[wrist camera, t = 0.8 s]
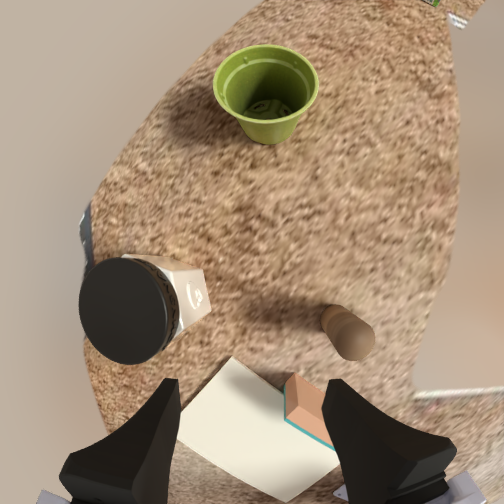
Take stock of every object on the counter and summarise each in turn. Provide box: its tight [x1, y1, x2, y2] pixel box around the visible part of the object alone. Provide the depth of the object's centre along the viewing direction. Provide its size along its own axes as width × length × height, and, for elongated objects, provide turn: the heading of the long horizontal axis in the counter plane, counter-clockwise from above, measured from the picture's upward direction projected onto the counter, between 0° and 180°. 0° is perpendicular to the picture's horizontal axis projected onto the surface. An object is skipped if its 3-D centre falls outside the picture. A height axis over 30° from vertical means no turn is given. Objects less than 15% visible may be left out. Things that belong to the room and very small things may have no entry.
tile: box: [284, 373, 336, 452], centre depth 25 cm, size 7×2×8 cm, turn 51°
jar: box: [79, 254, 211, 365], centre depth 25 cm, size 9×8×12 cm
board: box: [177, 356, 340, 503], centre depth 29 cm, size 20×14×1 cm
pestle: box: [320, 305, 375, 361], centre depth 25 cm, size 3×3×9 cm
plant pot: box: [213, 45, 319, 145], centre depth 26 cm, size 9×9×9 cm
